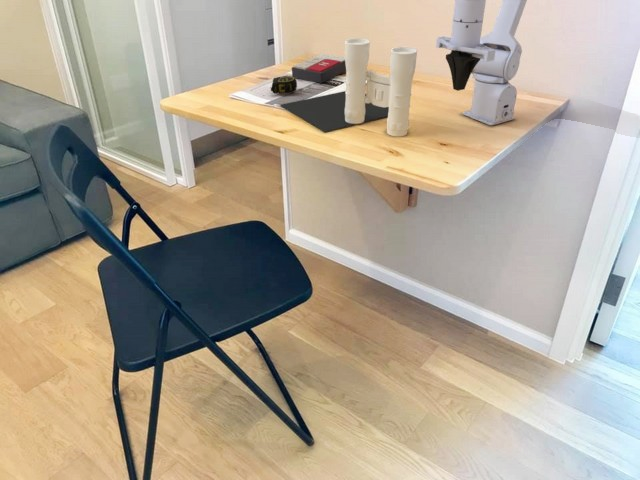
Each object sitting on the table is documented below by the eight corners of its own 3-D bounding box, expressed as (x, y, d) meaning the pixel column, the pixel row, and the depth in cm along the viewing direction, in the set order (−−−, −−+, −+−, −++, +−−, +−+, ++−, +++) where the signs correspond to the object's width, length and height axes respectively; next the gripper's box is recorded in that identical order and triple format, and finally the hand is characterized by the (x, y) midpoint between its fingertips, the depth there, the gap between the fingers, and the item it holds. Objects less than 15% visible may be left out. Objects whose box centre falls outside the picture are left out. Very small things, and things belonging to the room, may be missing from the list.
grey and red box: (290, 65, 154) (320, 51, 163) (291, 79, 156) (321, 65, 166) (321, 70, 148) (350, 56, 158) (321, 85, 151) (350, 70, 160)
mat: (404, 113, 129) (405, 111, 129) (325, 132, 119) (324, 131, 119) (354, 90, 145) (354, 89, 144) (280, 105, 135) (280, 104, 135)
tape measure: (273, 88, 147) (272, 75, 145) (297, 88, 147) (297, 74, 145) (271, 96, 142) (270, 82, 139) (296, 96, 141) (295, 82, 139)
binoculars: (413, 131, 118) (422, 49, 108) (401, 139, 115) (408, 55, 105) (352, 114, 127) (354, 36, 117) (338, 120, 124) (339, 41, 114)
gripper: (427, 16, 106) (421, 83, 114) (480, 28, 96) (470, 101, 103) (453, 12, 109) (446, 78, 117) (507, 24, 99) (495, 95, 106)
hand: (459, 89), depth 110 cm, fingers closed
